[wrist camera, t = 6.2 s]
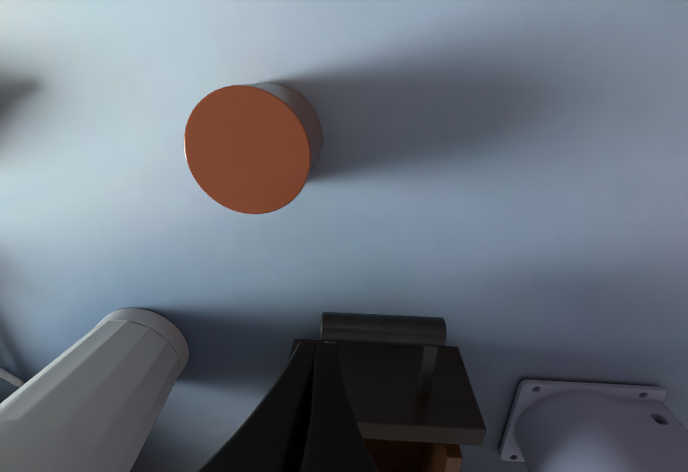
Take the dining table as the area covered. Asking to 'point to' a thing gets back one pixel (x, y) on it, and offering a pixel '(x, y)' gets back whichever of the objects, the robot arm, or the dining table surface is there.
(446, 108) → the dining table surface
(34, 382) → the cup
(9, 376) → the figurine
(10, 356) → the dining table surface
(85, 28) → the dining table surface
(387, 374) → the drawer
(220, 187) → the orange cylinder puck
